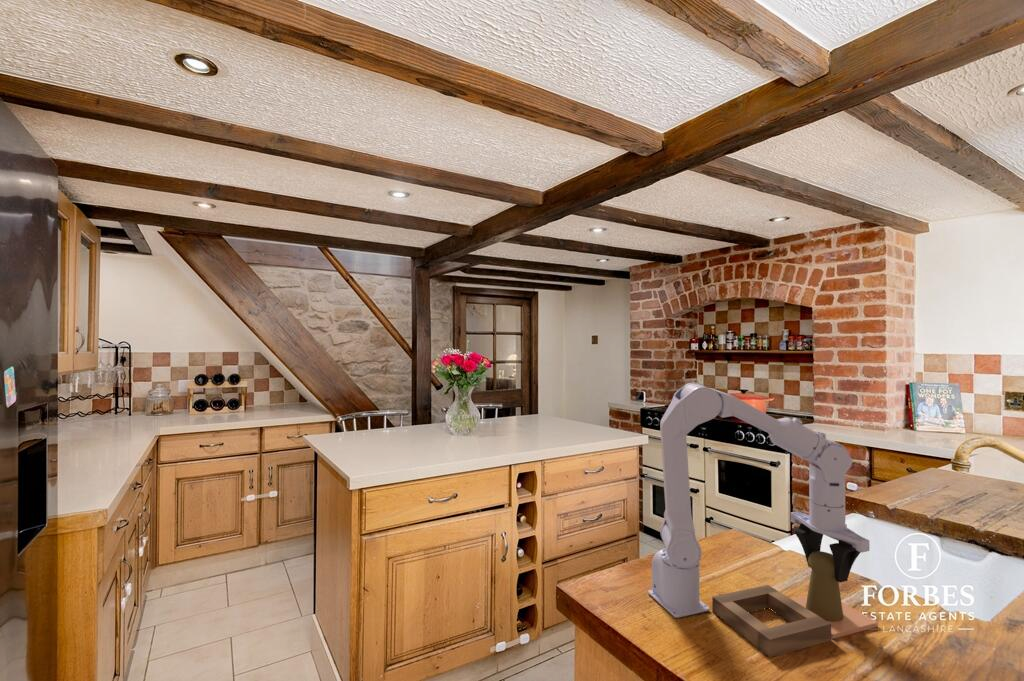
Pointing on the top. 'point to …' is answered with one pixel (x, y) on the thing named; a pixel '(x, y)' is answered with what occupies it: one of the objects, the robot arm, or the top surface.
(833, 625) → the terracotta tile
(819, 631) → the walnut holder
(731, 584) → the top surface
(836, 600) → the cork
